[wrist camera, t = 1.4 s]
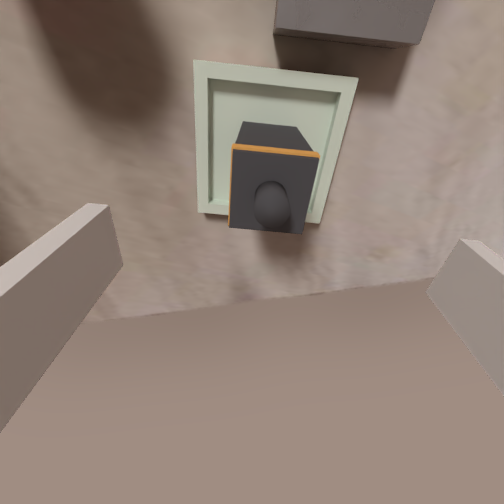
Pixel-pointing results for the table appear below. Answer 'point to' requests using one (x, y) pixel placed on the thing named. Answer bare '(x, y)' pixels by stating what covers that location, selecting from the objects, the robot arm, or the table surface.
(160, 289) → the table surface
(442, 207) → the table surface
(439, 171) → the table surface
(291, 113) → the tray
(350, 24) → the strip
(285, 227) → the plug
